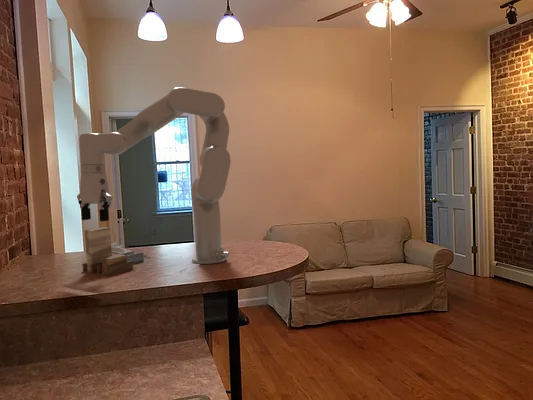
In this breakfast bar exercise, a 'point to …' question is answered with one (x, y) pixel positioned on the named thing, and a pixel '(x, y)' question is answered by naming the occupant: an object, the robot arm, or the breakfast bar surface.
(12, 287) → the breakfast bar surface
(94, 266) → the rack
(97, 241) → the beige wooden block
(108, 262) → the offcut top
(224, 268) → the breakfast bar surface
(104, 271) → the offcut bottom
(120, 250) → the molding
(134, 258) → the stand
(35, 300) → the breakfast bar surface
